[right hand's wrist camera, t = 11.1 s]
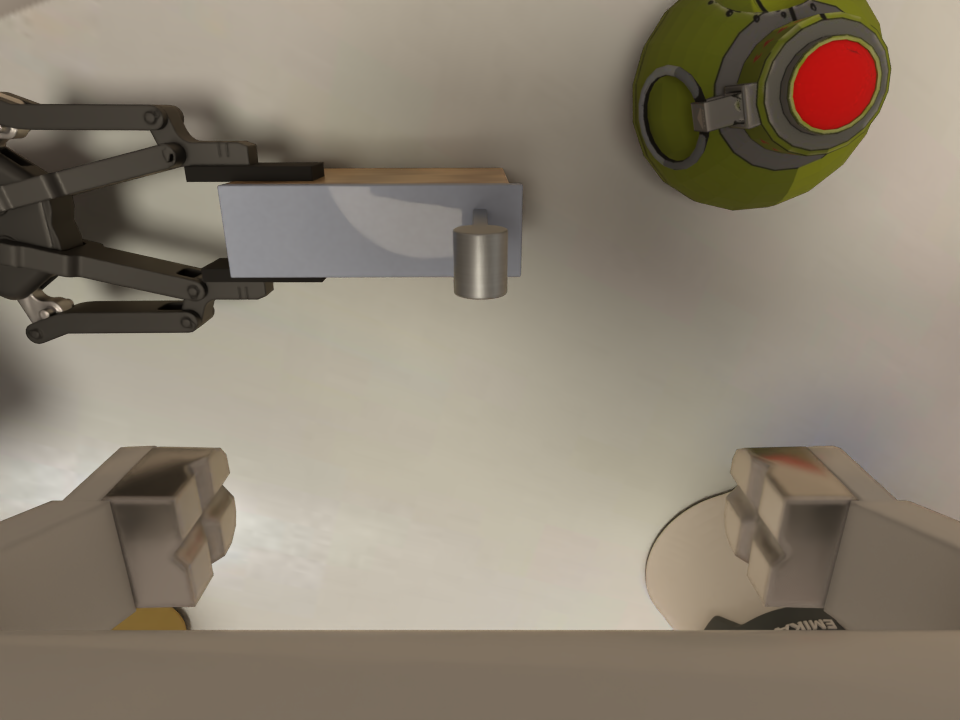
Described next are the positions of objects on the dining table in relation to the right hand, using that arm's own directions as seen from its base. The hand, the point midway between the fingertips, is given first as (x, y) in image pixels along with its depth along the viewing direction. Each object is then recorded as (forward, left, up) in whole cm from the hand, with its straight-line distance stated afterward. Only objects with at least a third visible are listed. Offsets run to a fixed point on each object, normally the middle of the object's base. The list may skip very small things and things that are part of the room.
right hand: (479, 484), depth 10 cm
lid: (+5, +1, -24) cm, 25 cm away
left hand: (+9, +2, -26) cm, 28 cm away
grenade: (-12, -9, -33) cm, 37 cm away
